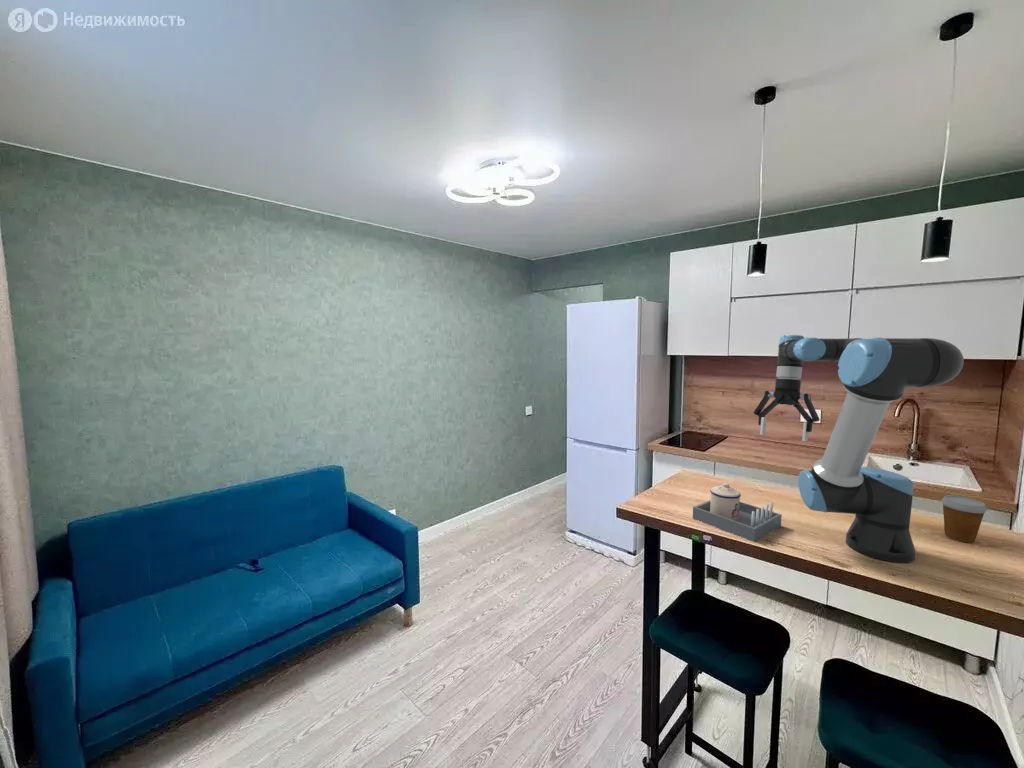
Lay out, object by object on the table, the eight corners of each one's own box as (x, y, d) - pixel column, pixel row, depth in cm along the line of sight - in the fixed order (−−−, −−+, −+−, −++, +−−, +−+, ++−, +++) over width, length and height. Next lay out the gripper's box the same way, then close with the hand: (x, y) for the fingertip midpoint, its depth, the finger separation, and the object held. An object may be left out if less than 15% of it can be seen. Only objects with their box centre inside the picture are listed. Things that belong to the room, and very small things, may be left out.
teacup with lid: (737, 525, 134) (739, 490, 133) (707, 518, 139) (708, 485, 138) (741, 512, 144) (743, 479, 143) (712, 506, 149) (714, 475, 148)
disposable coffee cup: (969, 547, 121) (974, 508, 120) (929, 533, 130) (933, 496, 129) (991, 543, 124) (996, 504, 123) (950, 529, 133) (954, 493, 132)
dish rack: (780, 526, 135) (782, 502, 135) (753, 541, 125) (755, 516, 124) (720, 506, 152) (721, 485, 151) (692, 518, 142) (693, 495, 141)
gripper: (834, 381, 140) (828, 443, 141) (756, 377, 161) (751, 431, 161) (826, 380, 136) (820, 444, 137) (747, 376, 156) (742, 432, 157)
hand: (782, 437), depth 149 cm, fingers open, 13 cm apart
